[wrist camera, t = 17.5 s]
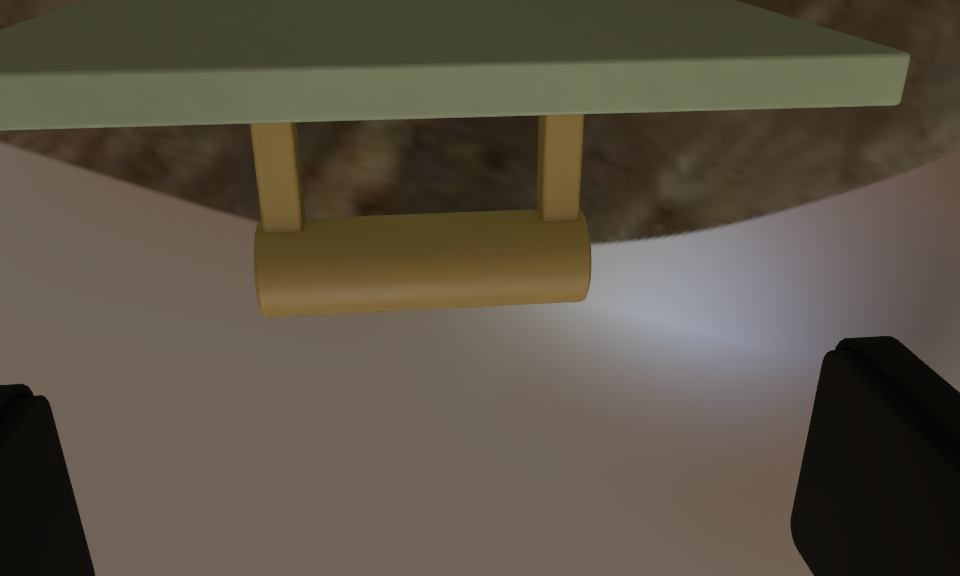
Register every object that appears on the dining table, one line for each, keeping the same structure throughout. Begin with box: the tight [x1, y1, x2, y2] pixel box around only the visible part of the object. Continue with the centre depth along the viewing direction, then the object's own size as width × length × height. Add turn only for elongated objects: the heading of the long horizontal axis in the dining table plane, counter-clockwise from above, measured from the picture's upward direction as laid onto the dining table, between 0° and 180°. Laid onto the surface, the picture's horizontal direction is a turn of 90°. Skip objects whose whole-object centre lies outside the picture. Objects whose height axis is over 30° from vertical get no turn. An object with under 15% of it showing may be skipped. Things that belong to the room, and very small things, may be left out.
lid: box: [0, 0, 910, 317], centre depth 20 cm, size 16×15×5 cm
